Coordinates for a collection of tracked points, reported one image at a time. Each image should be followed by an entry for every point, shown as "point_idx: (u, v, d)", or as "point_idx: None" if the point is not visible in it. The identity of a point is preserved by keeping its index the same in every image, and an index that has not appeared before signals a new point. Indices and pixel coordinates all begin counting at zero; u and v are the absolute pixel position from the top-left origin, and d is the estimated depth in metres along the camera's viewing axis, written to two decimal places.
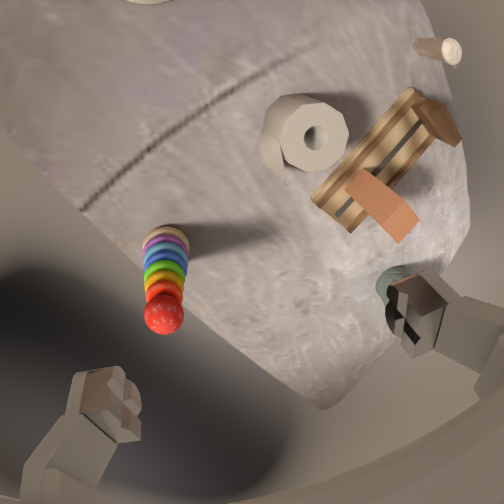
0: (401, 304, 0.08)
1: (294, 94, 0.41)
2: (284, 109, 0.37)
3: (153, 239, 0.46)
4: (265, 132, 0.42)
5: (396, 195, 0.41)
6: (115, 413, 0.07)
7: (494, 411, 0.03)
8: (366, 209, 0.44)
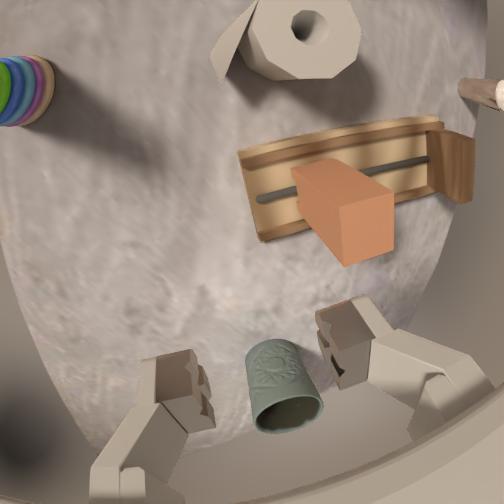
0: (327, 333, 0.08)
1: None
2: None
3: (20, 56, 0.19)
4: None
5: (380, 185, 0.24)
6: (198, 398, 0.07)
7: (494, 411, 0.03)
8: (319, 187, 0.26)
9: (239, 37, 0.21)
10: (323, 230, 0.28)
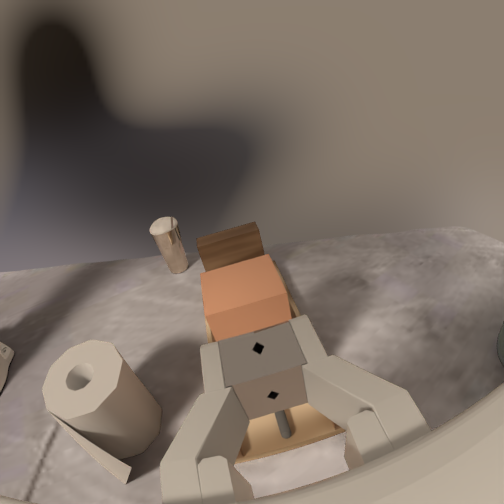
0: None
1: None
2: None
3: None
4: None
5: None
6: (268, 380, 0.07)
7: (494, 411, 0.03)
8: None
9: (82, 438, 0.20)
10: None
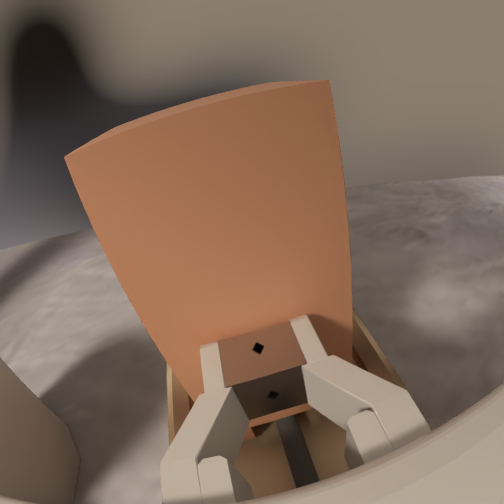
0: None
1: None
2: None
3: None
4: None
5: None
6: (268, 380, 0.07)
7: (494, 411, 0.03)
8: None
9: None
10: (292, 264, 0.07)
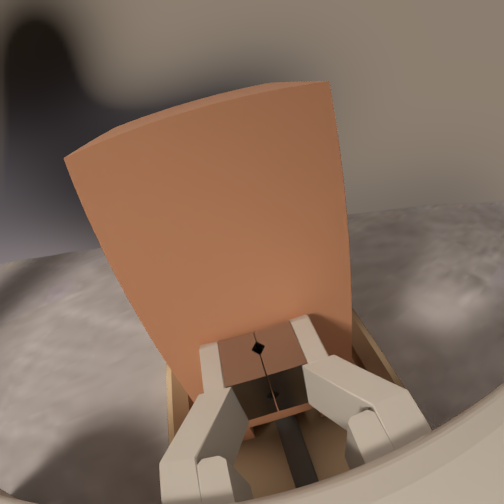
0: None
1: None
2: None
3: None
4: None
5: None
6: (267, 380, 0.07)
7: (494, 411, 0.03)
8: None
9: None
10: (292, 265, 0.07)
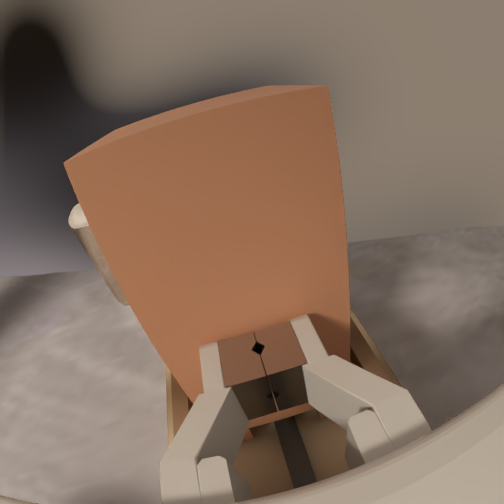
0: None
1: None
2: None
3: None
4: None
5: None
6: (267, 380, 0.07)
7: (494, 411, 0.03)
8: None
9: None
10: (290, 268, 0.08)
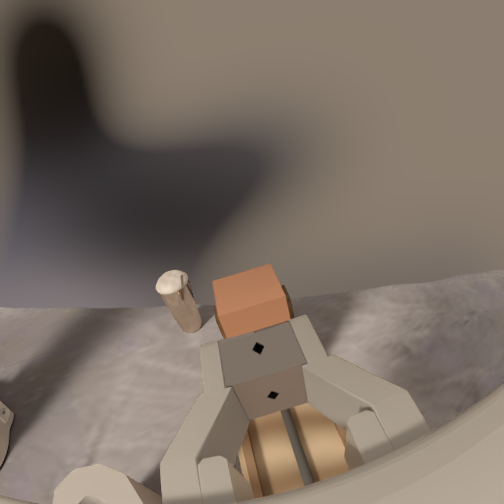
0: None
1: None
2: None
3: None
4: None
5: None
6: (268, 380, 0.07)
7: (494, 411, 0.03)
8: None
9: None
10: None
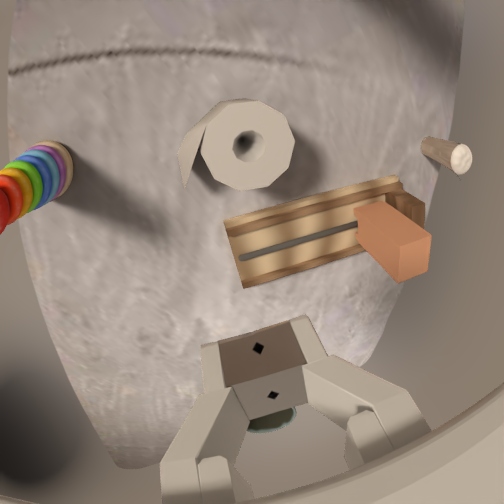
0: None
1: None
2: (237, 101, 0.30)
3: (41, 146, 0.29)
4: (201, 120, 0.34)
5: (421, 229, 0.35)
6: (268, 380, 0.07)
7: (494, 411, 0.03)
8: (382, 229, 0.37)
9: (194, 154, 0.31)
10: (382, 257, 0.39)
